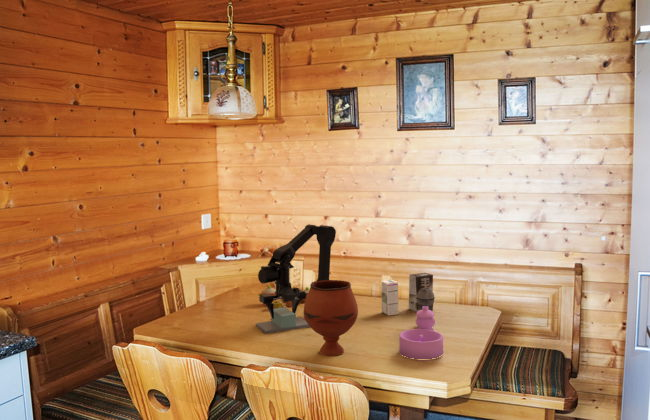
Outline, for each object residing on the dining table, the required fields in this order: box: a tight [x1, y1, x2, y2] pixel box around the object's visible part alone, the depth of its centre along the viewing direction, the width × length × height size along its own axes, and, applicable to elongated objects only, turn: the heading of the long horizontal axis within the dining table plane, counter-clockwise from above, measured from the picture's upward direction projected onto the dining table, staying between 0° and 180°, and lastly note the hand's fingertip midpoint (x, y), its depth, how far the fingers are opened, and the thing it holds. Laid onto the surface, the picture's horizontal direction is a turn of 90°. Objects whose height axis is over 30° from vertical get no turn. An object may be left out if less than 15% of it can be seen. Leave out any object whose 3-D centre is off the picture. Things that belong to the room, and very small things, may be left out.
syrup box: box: [381, 279, 399, 316], centre depth 254 cm, size 6×6×14 cm
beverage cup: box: [417, 278, 436, 312], centre depth 235 cm, size 7×7×20 cm
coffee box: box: [408, 272, 434, 313], centre depth 260 cm, size 9×6×16 cm
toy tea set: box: [257, 285, 310, 309], centre depth 273 cm, size 26×16×10 cm, turn 130°
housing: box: [270, 307, 297, 328], centre depth 237 cm, size 6×12×5 cm, turn 26°
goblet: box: [303, 279, 359, 357], centre depth 204 cm, size 19×19×25 cm
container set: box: [398, 306, 444, 359], centre depth 208 cm, size 25×15×13 cm, turn 164°
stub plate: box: [255, 316, 311, 335], centre depth 237 cm, size 20×12×4 cm, turn 117°
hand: (283, 317), depth 237 cm, fingers open, 9 cm apart
